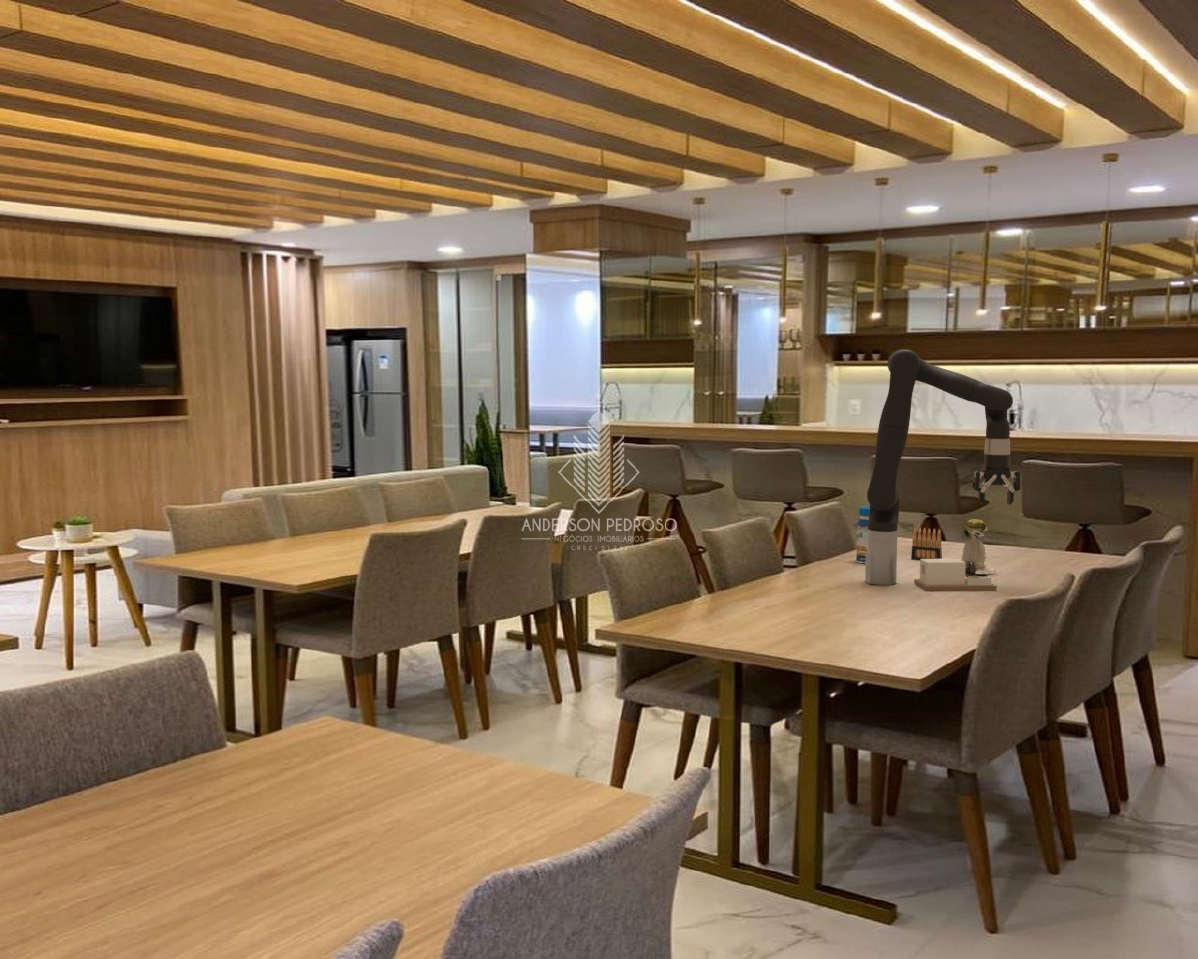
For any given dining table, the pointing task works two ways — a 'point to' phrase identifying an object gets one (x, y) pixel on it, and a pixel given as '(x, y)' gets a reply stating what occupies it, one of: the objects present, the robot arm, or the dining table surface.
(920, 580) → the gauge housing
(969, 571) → the plunger
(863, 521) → the beverage bottle
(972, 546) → the figurine
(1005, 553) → the dining table surface
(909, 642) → the dining table surface
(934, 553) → the ammunition clip
